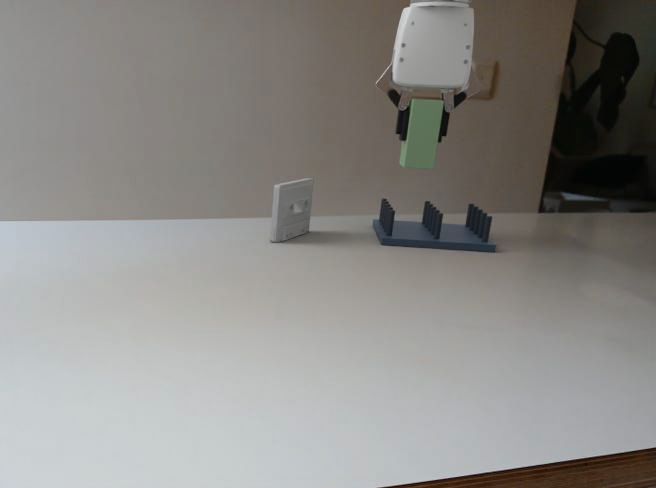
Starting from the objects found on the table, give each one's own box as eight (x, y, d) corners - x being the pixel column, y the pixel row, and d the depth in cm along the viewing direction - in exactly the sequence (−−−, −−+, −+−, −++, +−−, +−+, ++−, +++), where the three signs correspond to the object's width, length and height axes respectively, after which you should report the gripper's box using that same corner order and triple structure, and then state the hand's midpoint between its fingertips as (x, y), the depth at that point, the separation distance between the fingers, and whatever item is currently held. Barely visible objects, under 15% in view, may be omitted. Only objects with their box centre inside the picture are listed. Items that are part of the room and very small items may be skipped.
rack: (471, 231, 115) (476, 202, 113) (495, 252, 100) (501, 218, 98) (372, 225, 117) (376, 196, 115) (381, 244, 102) (385, 212, 100)
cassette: (278, 243, 100) (283, 185, 98) (266, 241, 101) (270, 184, 99) (312, 231, 110) (317, 178, 107) (300, 229, 111) (305, 177, 108)
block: (427, 165, 108) (437, 100, 105) (433, 169, 102) (444, 100, 99) (399, 164, 108) (408, 99, 105) (403, 168, 103) (413, 99, 100)
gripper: (500, 1, 100) (476, 142, 106) (373, -1, 102) (357, 136, 109) (514, -5, 93) (487, 145, 99) (377, -8, 95) (360, 139, 102)
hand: (419, 139), depth 104 cm, fingers closed on block, 4 cm apart
